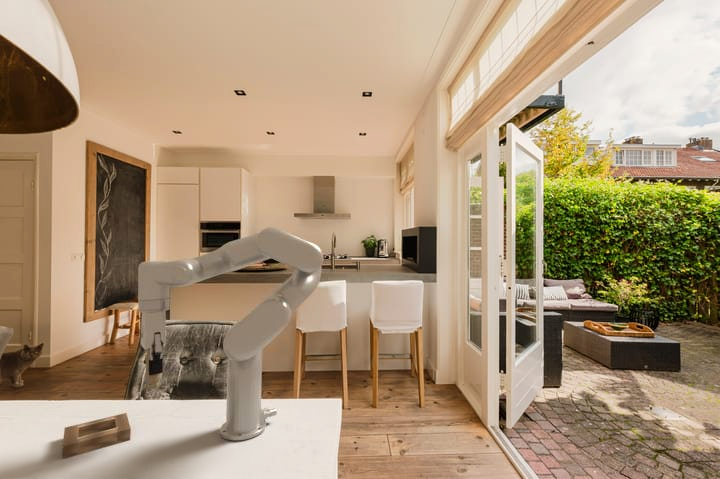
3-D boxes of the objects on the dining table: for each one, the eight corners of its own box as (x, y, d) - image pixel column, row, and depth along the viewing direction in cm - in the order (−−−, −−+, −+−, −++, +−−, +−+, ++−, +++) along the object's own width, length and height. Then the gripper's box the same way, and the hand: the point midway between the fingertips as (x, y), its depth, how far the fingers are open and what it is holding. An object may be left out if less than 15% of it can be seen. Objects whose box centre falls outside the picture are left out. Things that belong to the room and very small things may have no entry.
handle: (157, 391, 90) (157, 334, 91) (136, 390, 91) (136, 334, 92) (170, 384, 95) (170, 330, 95) (151, 383, 96) (151, 330, 97)
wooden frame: (126, 423, 101) (126, 412, 101) (130, 439, 92) (130, 427, 92) (64, 438, 92) (64, 426, 93) (61, 459, 83) (62, 445, 83)
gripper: (134, 304, 98) (134, 367, 97) (142, 310, 85) (142, 383, 84) (164, 301, 103) (164, 362, 102) (175, 306, 90) (175, 376, 89)
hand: (154, 371), depth 93 cm, fingers closed on handle, 4 cm apart
